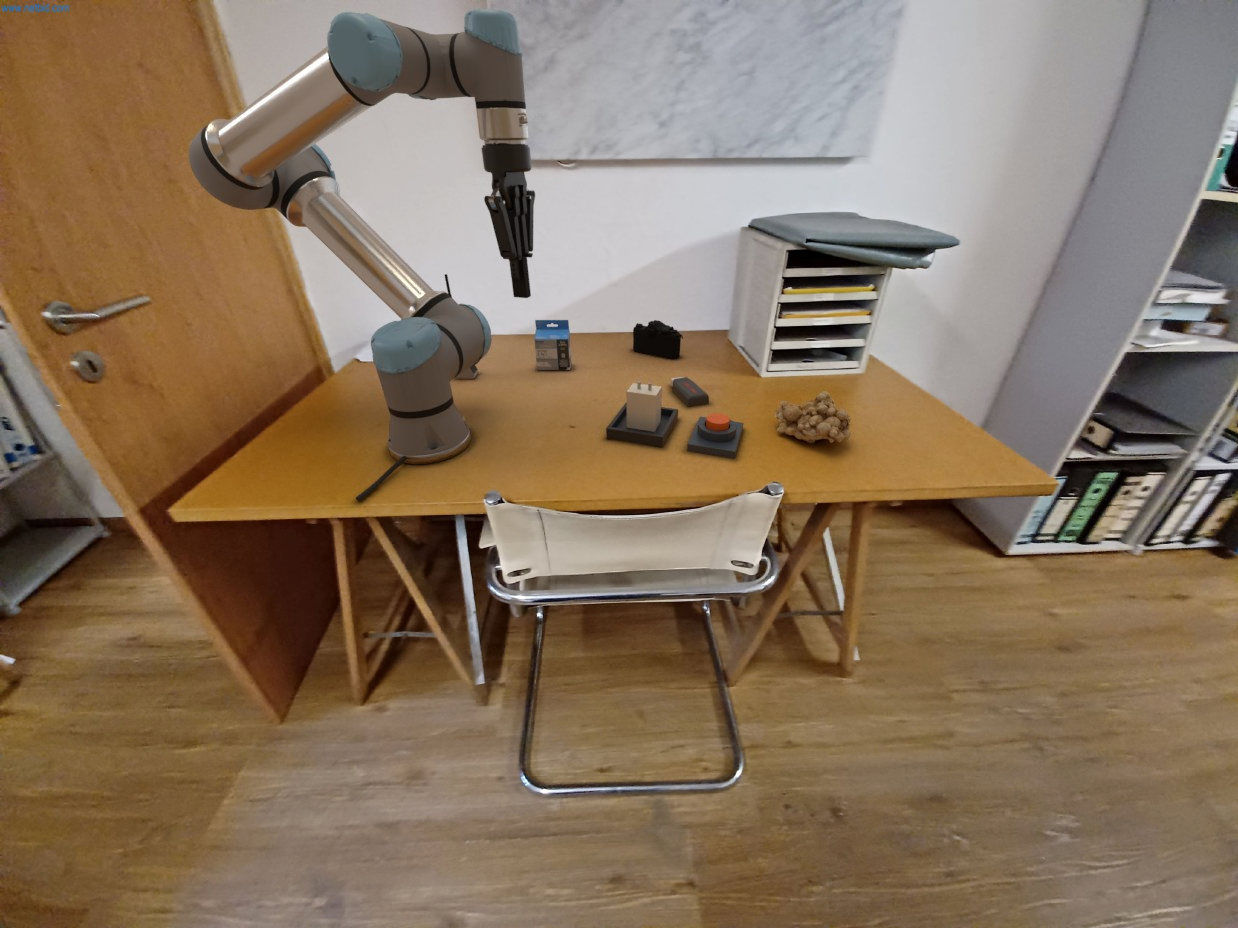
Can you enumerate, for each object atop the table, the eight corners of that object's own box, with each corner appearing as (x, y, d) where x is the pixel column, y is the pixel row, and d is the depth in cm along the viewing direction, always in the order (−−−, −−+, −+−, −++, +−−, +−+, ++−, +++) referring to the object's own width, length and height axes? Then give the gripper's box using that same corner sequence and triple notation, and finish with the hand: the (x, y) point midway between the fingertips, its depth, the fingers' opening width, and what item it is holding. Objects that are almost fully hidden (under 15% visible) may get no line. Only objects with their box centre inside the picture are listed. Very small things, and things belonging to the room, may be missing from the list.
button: (726, 433, 95) (727, 425, 94) (703, 429, 96) (704, 421, 95) (730, 423, 98) (731, 415, 97) (708, 419, 99) (708, 412, 98)
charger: (654, 432, 100) (656, 388, 95) (626, 427, 101) (626, 384, 96) (660, 422, 103) (662, 380, 98) (633, 418, 105) (633, 376, 100)
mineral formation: (825, 417, 106) (869, 448, 93) (766, 433, 105) (802, 466, 92) (826, 382, 102) (872, 410, 89) (765, 398, 101) (802, 428, 88)
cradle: (662, 448, 96) (663, 437, 95) (606, 439, 100) (606, 428, 98) (677, 419, 106) (678, 409, 105) (626, 412, 110) (626, 401, 108)
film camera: (691, 350, 142) (693, 319, 137) (675, 361, 135) (677, 328, 130) (644, 341, 149) (645, 311, 144) (627, 351, 142) (628, 319, 137)
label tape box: (536, 370, 130) (531, 324, 124) (539, 365, 134) (534, 319, 127) (570, 371, 130) (567, 324, 123) (572, 365, 133) (569, 319, 127)
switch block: (734, 459, 93) (736, 443, 91) (686, 451, 95) (687, 435, 93) (742, 430, 102) (744, 414, 100) (699, 423, 105) (700, 408, 103)
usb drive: (687, 407, 111) (688, 396, 110) (666, 386, 121) (667, 376, 119) (708, 404, 112) (709, 393, 111) (686, 384, 122) (687, 373, 121)
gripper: (505, 142, 72) (523, 307, 85) (545, 142, 82) (556, 289, 95) (460, 143, 74) (485, 304, 87) (505, 143, 84) (521, 287, 97)
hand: (522, 296), depth 91 cm, fingers closed
